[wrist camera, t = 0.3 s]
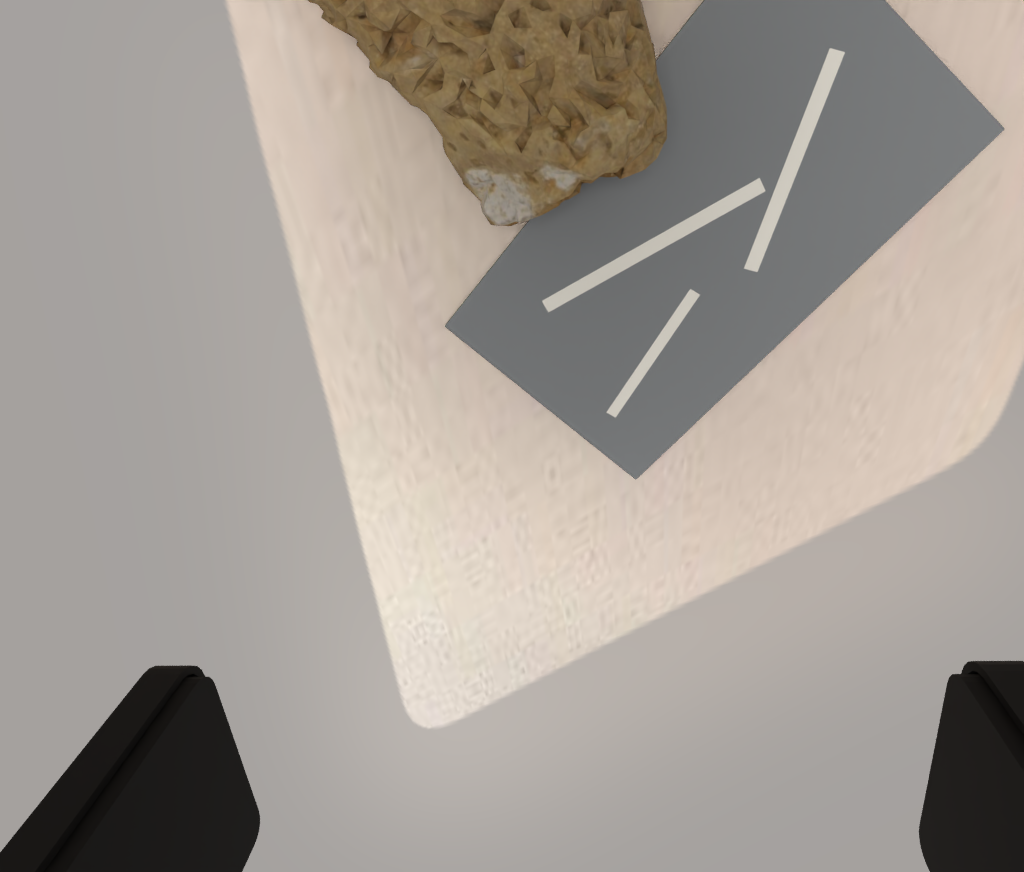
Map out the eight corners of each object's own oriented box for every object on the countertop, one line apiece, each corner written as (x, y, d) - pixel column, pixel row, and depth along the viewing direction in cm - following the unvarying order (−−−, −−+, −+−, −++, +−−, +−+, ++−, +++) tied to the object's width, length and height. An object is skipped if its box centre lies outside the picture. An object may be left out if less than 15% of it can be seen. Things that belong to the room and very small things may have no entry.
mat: (786, -104, 29) (787, -105, 29) (1002, 128, 32) (1005, 129, 32) (445, 325, 38) (444, 326, 38) (635, 478, 41) (635, 479, 41)
